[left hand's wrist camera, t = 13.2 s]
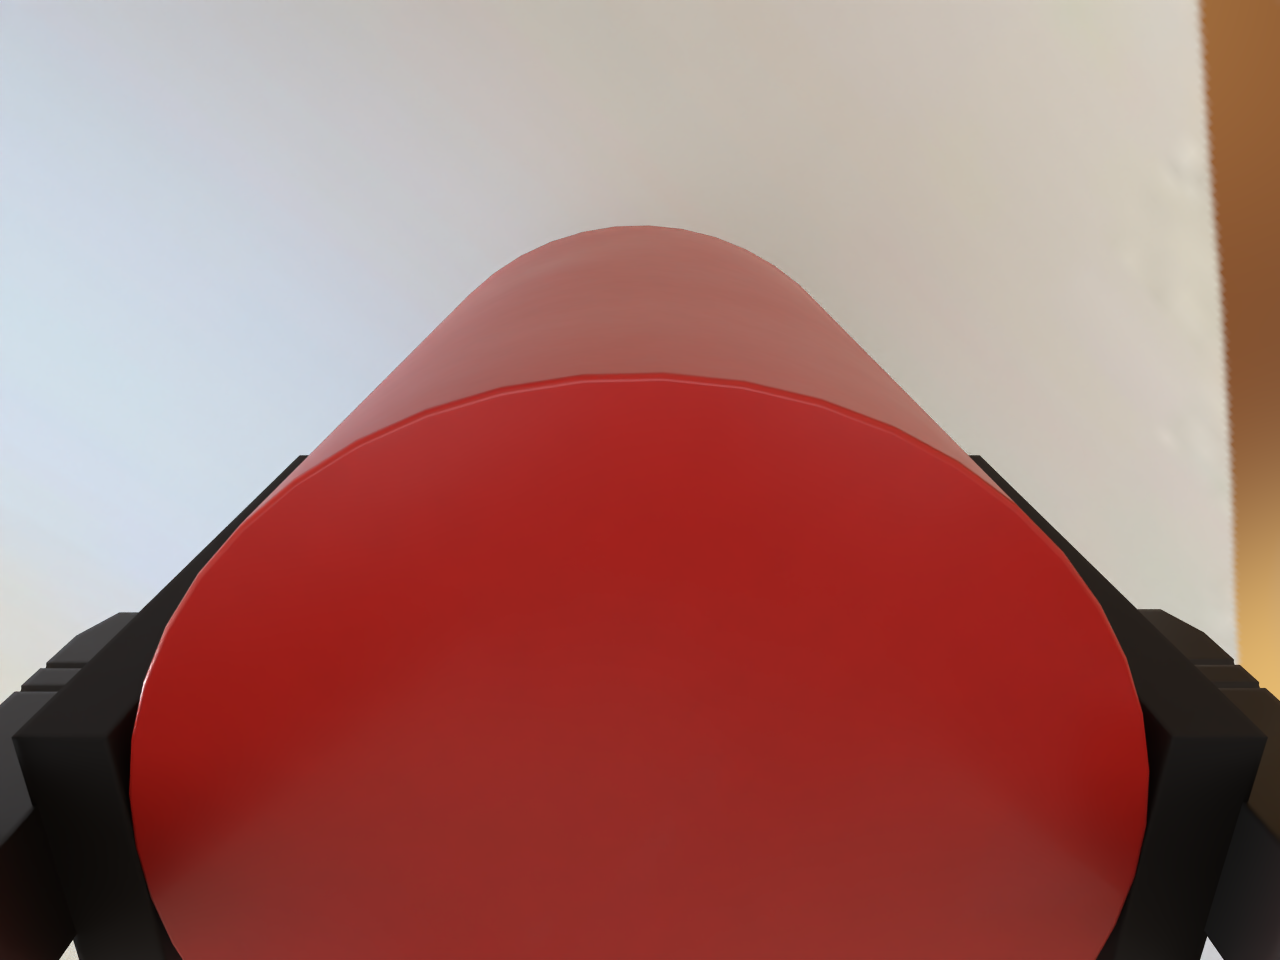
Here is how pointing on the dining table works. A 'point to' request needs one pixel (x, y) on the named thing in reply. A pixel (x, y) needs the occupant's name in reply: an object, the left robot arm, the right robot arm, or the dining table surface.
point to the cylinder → (639, 658)
